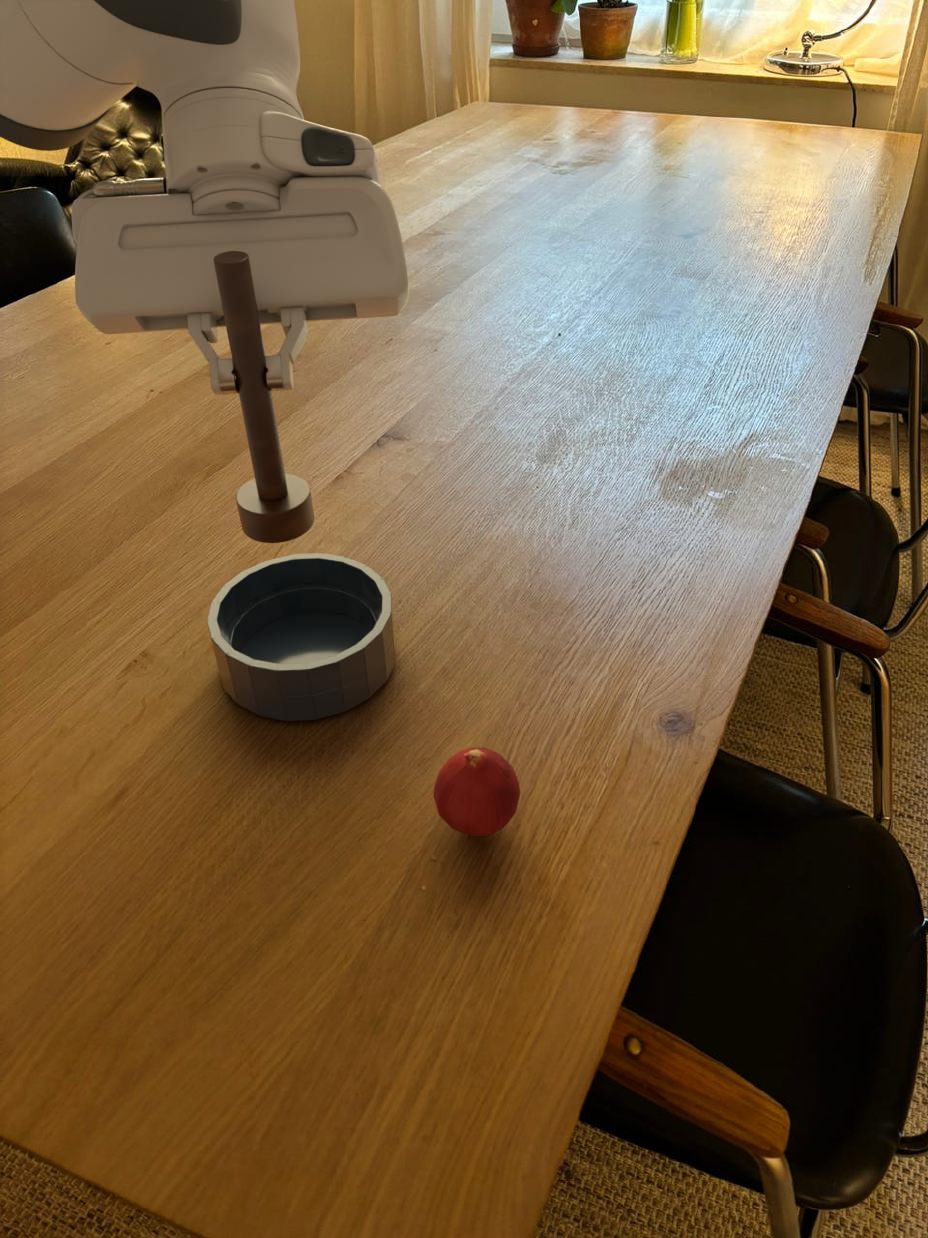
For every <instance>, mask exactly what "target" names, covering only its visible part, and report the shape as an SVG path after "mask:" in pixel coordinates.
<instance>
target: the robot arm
mask: <svg viewBox="0 0 928 1238" xmlns="http://www.w3.org/2000/svg"><path fill="white" fill-rule="evenodd" d="M298 29H299V28H298V19H297V13H296V6H295V0H0V138H1V139H4V140H6V142H7V141H8V142H9V143H12V144H14V145H17V146H20V147H23V148H26V149H30V150H33V151H34V150H35V151H43V152H51V151H52V152H54V151H62V150H65V149H68V148H71V147H74V146H75V145H77V144H79V143H80V142H81V141H83V140H84V139H85V138H86V137H87V136H88V135H89V134H90V132H91V131H92V130H93V129H94V128H95V127H96V126H97V125H98V124H99V122H100V121H101V120H102V119H103V118H104V117H105V116H106V115H107V113H108V112H109V111H111V108H112V107H113V106H114V105H116V103H118V102H119V101H121V99H123V98H124V97H125V96H127V95H128V94H129V93H130V92H131V91H132V90H133V89H135V88H136V87H138V88H140V89H143V90H145V91H147V92H150V93H152V94H153V95H154V96H155V98H157V100H158V101H159V105H160V109H161V126H162V141H163V156H164V158H163V159H164V170H165V176H164V177H151V178H150V177H149V178H139V179H131V180H127V181H116V180H102V181H97V182H95V183H93V184H92V188H90V189H88V190H87V189H86V190H85V191H83V192H81V194H79V196H78V197H77V198H76V199H75V200H73V202H72V205H71V212H70V213H71V232H72V237H73V241H74V242H75V244H76V255H75V265H74V266H75V268H74V300H75V304H76V306H77V308H78V310H79V312H80V313H81V314H82V316H83V317H84V318H85V319H86V320H87V321H88V322H89V323H90V324H91V325H92V326H93V327H94V328H95V329H96V330H98V331H99V332H100V333H102V334H104V335H119V334H135V333H136V334H137V333H151V332H152V333H153V332H166V331H169V332H170V331H181V330H182V331H184V330H187V332H188V334H189V336H190V338H191V340H192V341H193V342H194V344H195V345H196V347H197V349H198V350H199V352H200V353H201V354H202V356H203V358H204V359H205V360H206V362H207V363H208V366H209V380H210V381H209V382H210V387H211V391H212V392H213V394H214V395H215V396H219V395H221V396H222V395H233V394H234V395H236V394H239V392H238V387H237V382H236V376H235V371H234V366H233V361H232V357H231V358H220V357H219V355H218V354H217V352H216V351H215V349H214V348H213V346H212V345H211V344H216V343H218V342H219V339H218V328H226V324H225V319H224V313H223V308H222V303H221V298H220V292H219V287H218V282H217V277H216V271H215V266H214V261H213V259H214V257H215V256H216V255H218V254H220V253H223V252H228V251H241V252H245V253H247V254H248V256H249V261H250V267H251V273H252V279H253V285H254V291H255V297H256V303H257V309H258V315H259V320H260V326H261V325H263V326H264V325H276V324H277V325H279V324H281V327H282V330H283V334H284V336H285V339H284V340H283V342H282V345H281V347H280V349H279V351H278V353H277V355H276V354H275V355H274V354H273V355H265V366H266V369H267V370H268V371H267V373H266V379H267V385H268V388H269V390H270V391H271V392H277V391H293V390H294V386H295V385H294V371H293V365H294V364H295V363H296V361H297V359H298V357H299V355H300V353H301V351H302V349H303V347H304V345H305V343H306V341H307V340H308V325H307V322H308V323H309V322H320V321H321V322H324V321H339V320H356V319H371V318H387V317H397V316H399V315H400V314H401V313H402V311H403V310H404V308H405V307H406V305H407V304H408V302H409V298H410V291H409V290H410V289H409V277H408V267H407V260H406V254H405V249H404V243H403V238H402V233H401V228H400V226H399V221H398V217H397V214H396V210H395V207H394V204H393V202H392V200H391V197H390V196H389V194H388V193H387V191H386V189H384V188H383V186H382V185H380V171H379V164H378V159H377V156H376V151H375V149H374V146H373V144H372V142H371V140H370V139H369V138H367V137H366V136H364V135H360V134H357V133H354V132H349V131H347V130H346V131H345V130H341V129H337V128H333V127H329V126H326V125H322V124H318V123H315V122H311V121H308V120H305V116H304V114H303V110H302V108H301V106H300V103H299V100H298V95H297V94H298V93H297V90H298V87H297V86H298V83H299V79H300V73H301V53H300V39H299V30H298Z"/></svg>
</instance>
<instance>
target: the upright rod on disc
mask: <svg viewBox="0 0 928 1238" xmlns="http://www.w3.org/2000/svg"><path fill="white" fill-rule="evenodd" d="M213 261H214V266H215V271H216V277H217V282H218V287H219V292H220V298H221V303H222V308H223V313H224V319H225V324H226V327H225V329H226V334H227V339H228V343H229V344H228V345H229V349H230V350H229V351H230V354H231V358H232V361H233V366H234V371H235V376H236V382H237V387H238V392H239V393H238V397H239V403H240V407H241V413H242V417H243V424H244V428H245V434H246V438H247V443H248V449H249V455H250V459H251V465H252V470H253V475H254V478H252V479H250V480H248V481H246V482H245V483H244V484H243V485H241V486H240V487H239V489H238V490H237V492H236V494H235V502H236V506H237V511H238V516H239V521H240V526H241V530H242V533H244V534H245V536H247V537H248V538H249V539H251V540H253V541H256V542H259V543H265V544H280V543H281V544H282V543H286V542H289V541H292V540H295V539H298V538H300V537H302V536H303V535H305V534H306V533H308V531H310V530H311V529H312V527H313V525H314V522H315V512H314V505H313V499H312V498H313V497H312V492H311V491H312V490H311V487H310V485H309V482H308V481H306V480H305V479H303V478H302V477H300V476H298V475H294V474H291V473H286V471H285V466H284V465H285V464H284V460H283V454H282V447H281V441H280V435H279V428H278V423H277V418H276V411H275V406H274V399H273V393H272V392H273V391H270V390H269V388H268V385H267V379H266V373H267V371H268V370H267V369H266V366H265V356H266V351H265V350H266V349H265V346H264V345H265V344H264V340H263V332H262V327H261V325H260V320H259V315H258V309H257V303H256V297H255V291H254V285H253V279H252V273H251V267H250V261H249V256H248V254H247V253H245V252H241V251H228V252H223V253H220V254H218V255H216V256H215V257H214V259H213Z"/></svg>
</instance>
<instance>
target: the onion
mask: <svg viewBox="0 0 928 1238" xmlns="http://www.w3.org/2000/svg"><path fill="white" fill-rule="evenodd" d="M520 795H521V788H520V783H519V779H518V776H517V772H516V771H515V768H514V767H513V765H512V764H510V762H509V761H508V760H507V759H506V758H505V757H504V756H503V755H502V754H501V753H499V752H497V751H494V750H492V749H489V748H486V747H467V748H464V749H462V750H459V751H457V752H456V753H454V754H453V755H452V756H450V757H449V758H447V760H446V761H445V762H444V764H443V766H442V767H441V768H440V770H439V771H438V773H437V776H436V780H435V784H434V788H433V798H434V803H435V805H436V809H437V811H438V816H440V818H441V819H442V820H443V822H445V823H446V824H447V825H448V826H449V828H451V829H452V830H453V831H455V832H458V833H460V834H462V835H467V836H472V837H481V836H482V837H483V836H489V835H493V834H494V833H496V832H499V831H500V830H502V829H504V828H505V827H506V826H507V825H508V824H509V822H510V821H511V820H512V819H513V817H514V816H515V814H516V813H517V809H518V806H519V801H520Z"/></svg>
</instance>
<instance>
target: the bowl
mask: <svg viewBox="0 0 928 1238" xmlns="http://www.w3.org/2000/svg"><path fill="white" fill-rule="evenodd" d="M206 618H207V619H206V624H207V628H208V633H209V637H210V641H211V645H212V649H213V653H214V657H215V661H216V664H217V665H216V666H217V670H218V674H219V677H220V680H221V684H222V687H223V690H224V691H225V692H226V693H227V694H228V695H229V696H230V698H231V699H232V700H233V701H234V702H235V703H236V704H237V705H238V706H240V707H242V708H244V709H246V710H248V711H249V712H251V713H254V714H256V715H258V716H259V717H264V718H268V719H274V720H278V721H285V722H296V721H297V722H299V721H300V722H301V721H317V720H321V719H323V718H328V717H331V716H334V715H338V714H341V713H345V712H347V711H350V710H351V709H352V708H355V707H356V706H358V705H360V704H362V703H364V702H365V701H367V700H369V699H370V698H371V697H373V696H374V695H375V693H377V691H378V690H380V689H381V687H382V686H384V684H386V682H387V681H388V679H389V677H390V675H391V673H392V671H393V669H394V667H395V664H396V662H397V641H396V639H397V638H396V629H395V617H394V605H393V595H392V592H391V591H390V589H389V586H388V585H387V583H386V581H385V579H384V578H383V577H382V576H381V575H379V573H377V572H376V571H374V570H373V569H372V568H371V567H370V566H369V565H367V564H365V563H362V562H359V561H357V560H355V559H352V558H349V557H348V556H344V555H343V556H342V555H336V554H330V553H324V552H310V553H294V554H289V555H288V554H287V555H285V556H280V557H275V558H272V559H268V560H264V561H262V562H259V563H257V564H255V565H253V566H251V567H248V568H246V569H244V570H242V571H241V572H239V573H238V574H237V575H235V576H234V577H233V578H231V579H230V580H229V581H227V582H226V583H225V584H224V585H223V586H222V587H221V589H220V590H219V591H218V593H216V595H215V597H214V598H213V599H212V601H211V603H210V605H209V610H208V614H207V617H206Z"/></svg>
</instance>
